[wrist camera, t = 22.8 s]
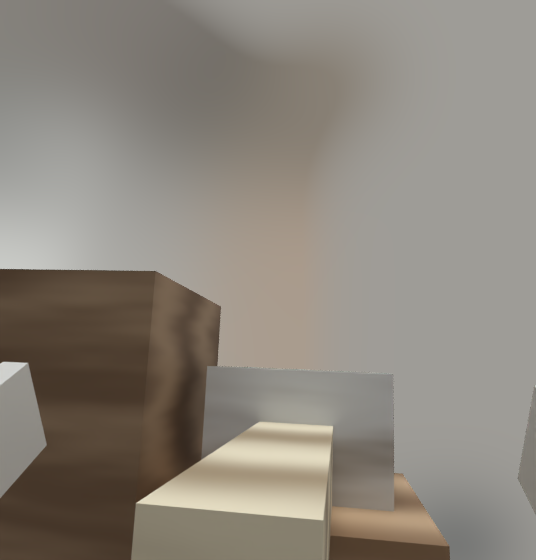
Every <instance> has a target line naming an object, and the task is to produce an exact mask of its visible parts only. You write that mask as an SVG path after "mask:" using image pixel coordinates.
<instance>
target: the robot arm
mask: <svg viewBox="0 0 536 560" xmlns="http://www.w3.org/2000/svg"><path fill="white" fill-rule="evenodd" d="M46 445H47V444H46V439H45V435H44V430H43V426H42V422H41V417H40V413H39V409H38V404H37V400H36V395H35V391H34V387H33V382H32V378H31V373H30V369H29V365H28V363H19V362H2V363H1V364H0V498H1V497H2V496H3V494H4V493H5V492H6V491H7V490H8V489H9V488H10V487H11V485H12V484H13V483H14V482H15V481H16V480H17V479H18V477H19V476H20V475H21V474H22V473H23V472H24V471H25V469H26V468H27V467H28V466H29V465H30V464H31V463H32V461H33V460H34V459H35V458H36V457H37V456H38V455H39V453H40V452H41V451H42V450H43V449H44V448H45V447H46ZM518 480H519V482H520V484H521V486H522V488H523V490H524V492H525V494H526V496H527V498H528V500H529V502H530V504H531V506H532V508H533V510H534V512H535V514H536V385H535V386H534V391H533V396H532V402H531V407H530V413H529V419H528V424H527V429H526V435H525V441H524V447H523V452H522V457H521V463H520V468H519V474H518Z"/></svg>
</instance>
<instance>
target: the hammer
mask: <svg viewBox="0 0 536 560" xmlns="http://www.w3.org/2000/svg"><path fill="white" fill-rule="evenodd" d="M393 416H394V404H393V374H387V373H369V372H344V371H323V370H299V369H277V368H252V367H226V366H225V367H223V366H222V367H220V366H207V378H206V393H205V409H204V425H203V440H202V456H201V461H199V462H197V463H196V464H194V465H193V466H191V467H190V468H188V469H187V470H185V471H184V472H182V473H181V474H179V475H178V476H176V477H175V478H173V479H172V480H170V481H169V482H167V483H166V484H164V485H163V486H161V487H160V488H158V489H157V490H155V491H154V492H152V493H151V494H149V495H148V496H146V497H145V498H143V499H142V500H140V501H139V502H137V503H136V508H135V520H134V532H133V543H132V555H131V560H329V551H330V532H331V514H332V506H337V507H348V508H360V509H371V510H383V511H394V421H393V419H394V417H393Z"/></svg>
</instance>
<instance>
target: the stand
mask: <svg viewBox="0 0 536 560" xmlns="http://www.w3.org/2000/svg"><path fill="white" fill-rule="evenodd" d="M220 310H221V307H220V306H219V305H217V304H215V303H213V302H211V301H210V300H208V299H206V298H204V297H202V296H200V295H199V294H197V293H195V292H193V291H191V290H189V289H187V288H186V287H184V286H182V285H180V284H178V283H176V282H175V281H173V280H171V279H169V278H167V277H165V276H163V275H162V274H160V273H158V272H156V271H105V270H103V271H102V270H29V269H26V270H25V269H0V364H1V363H2V362H19V363H28V365H29V369H30V373H31V378H32V382H33V387H34V391H35V395H36V400H37V404H38V409H39V413H40V417H41V422H42V426H43V430H44V435H45V439H46V444H47V445H46V447H45V448H44V449H43V450H42V451H41V452H40V453H39V455H38V456H37V457H36V458H35V459H34V460H33V461H32V463H31V464H30V465H29V466H28V467H27V468H26V469H25V471H24V472H23V473H22V474H21V475H20V476H19V477H18V479H17V480H16V481H15V482H14V483H13V484H12V485H11V487H10V488H9V489H8V490H7V491H6V492H5V493H4V494H3V496H2V497H1V498H0V560H131V555H132V543H133V532H134V520H135V508H136V503H137V502H139V501H140V500H142V499H143V498H145V497H146V496H148V495H149V494H151V493H152V492H154V491H155V490H157V489H158V488H160V487H161V486H163V485H164V484H166V483H167V482H169V481H170V480H172V479H173V478H175V477H176V476H178V475H179V474H181V473H182V472H184V471H185V470H187V469H188V468H190V467H191V466H193V465H194V464H196V463H197V462H199V461H201V456H202V440H203V425H204V409H205V393H206V378H207V366H217V362H218V344H219V327H220ZM329 560H450V552H449V545H448V544H447V542H446V540H445V539H444V537H443V536H442V534H441V533H440V531H439V530H438V528H437V527H436V525H435V523H434V522H433V520H432V519H431V517H430V516H429V514H428V513H427V511H426V509H425V508H424V506H423V505H422V504H421V502H420V500H419V499H418V497H417V495H416V494H415V492H414V491H413V489H412V488H411V486H410V485H409V483H408V481H407V480H406V478H405V477H404V475H403V474H398V473H394V511H383V510H371V509H360V508H348V507H337V506H332V514H331V532H330V551H329Z"/></svg>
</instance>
